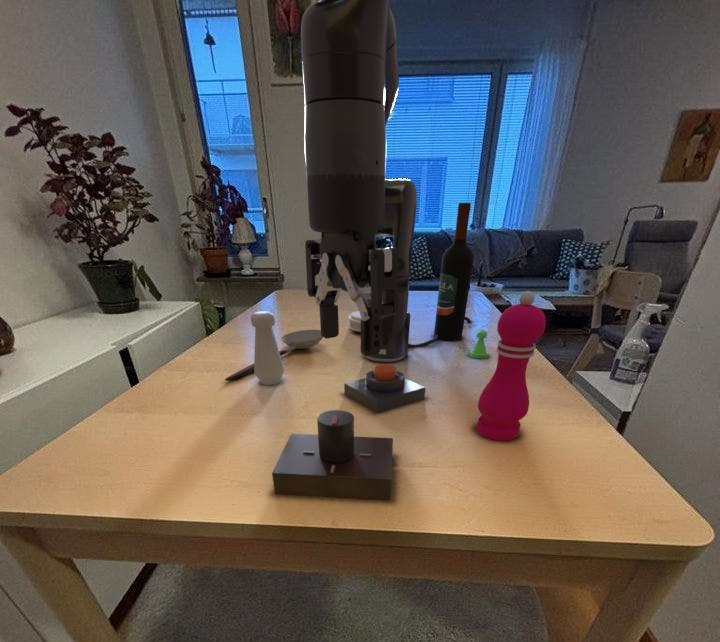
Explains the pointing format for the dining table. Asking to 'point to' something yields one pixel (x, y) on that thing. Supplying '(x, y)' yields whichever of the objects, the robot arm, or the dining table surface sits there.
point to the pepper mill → (511, 370)
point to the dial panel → (335, 469)
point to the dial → (336, 436)
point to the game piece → (479, 346)
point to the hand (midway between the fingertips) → (349, 345)
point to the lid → (355, 321)
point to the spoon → (293, 340)
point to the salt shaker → (266, 349)
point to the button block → (384, 392)
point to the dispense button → (385, 372)
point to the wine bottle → (454, 282)
